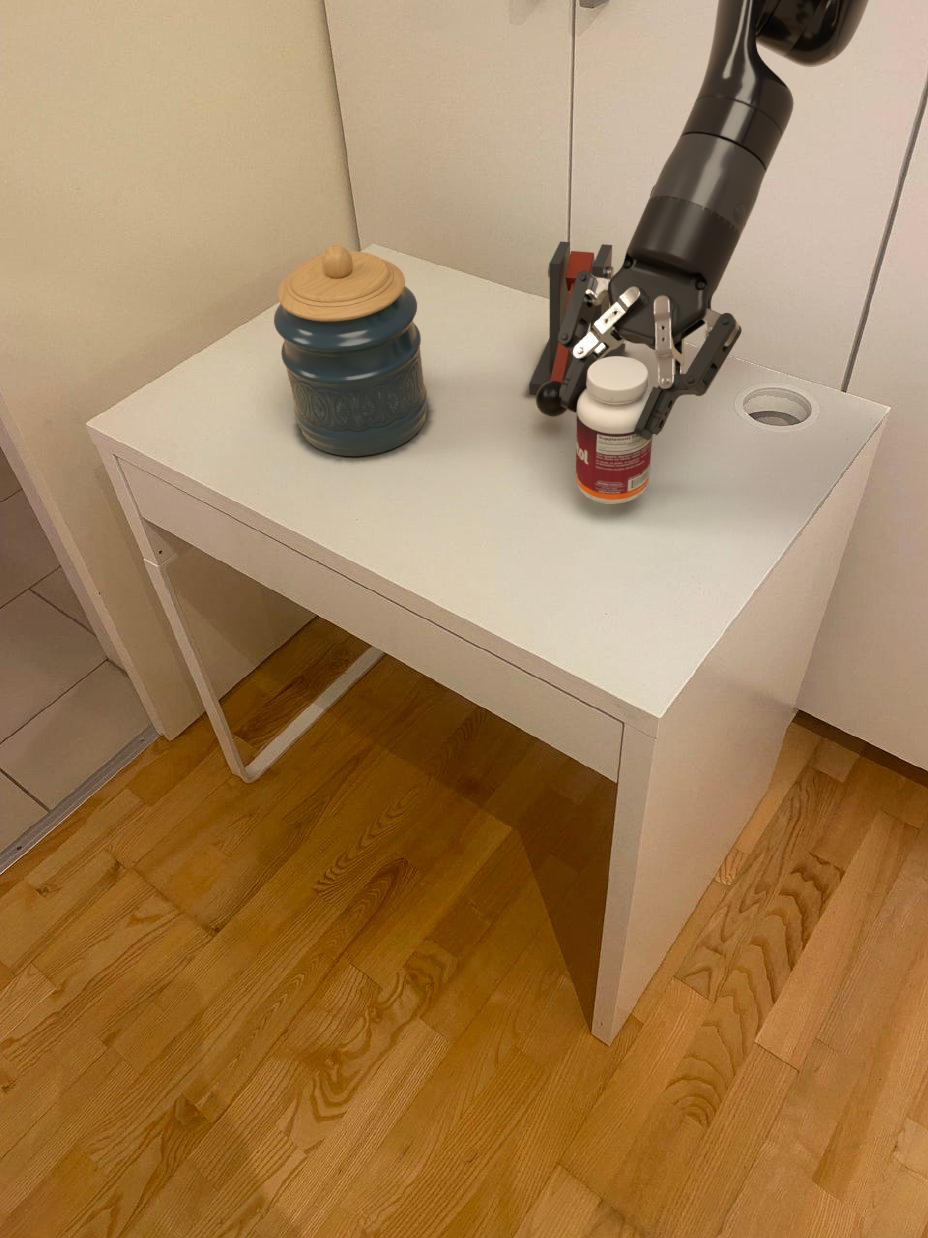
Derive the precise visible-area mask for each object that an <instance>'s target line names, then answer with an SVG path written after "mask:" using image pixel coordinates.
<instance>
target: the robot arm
mask: <svg viewBox="0 0 928 1238" xmlns="http://www.w3.org/2000/svg"><path fill="white" fill-rule="evenodd" d="M869 1H870V0H718V2H717V9H716V16H715V22H714V30H713V35H712V43H711V48H710V52H709V56H708V62H707V65H706V69H705V73H704V76H703V80H702V83H701V86H700V88H699V91H698V94H697V96H696V99H695V101H694V103H693V106H692V108H691V111H690V113H689V115H688V117H687V119H686V122H685V124H684V127H683V129H682V131H681V133H680V136H679V138H678V139H677V142H676V144H675V145H674V148H673V149H672V151H671V153H670V154H669V155H668V158H667V159H666V161H665V163H664V165H663V166H662V169H661V171H660V173H659V175H658V178H657V180H656V182H655V184H654V185H653V187H652V188H651V190H650V194H649V198H648V201H647V203H646V205H645V208H644V210H643V211H642V214H641V217H640V219H639V221H638V224H637V225H636V228H635V230H634V233H633V235H632V237H631V239H630V242H629V244H628V246H627V248H626V251H625V255H624V259H623V262H622V265H621V266H620V268H619V269H618V271H617V272H616V273H615V274H613V277H612V278H611V279H608V278H602V277H596V276H593V275H591V274H590V273H589V272H588V271H586V270H583V271H581V272H579V273H578V275H577V277H576V280H575V283H574V286H573V289H572V293H571V296H570V299H569V302H568V305H567V308H566V312H565V315H564V318H563V321H562V324H561V327H560V331H559V334H558V342H559V343H560V344H562V345H563V346H564V347H565V348H566V349H568V350H569V351H570V352H571V354H572V362H571V365H570V367H569V369H568V372H567V374H566V376H565V379H564V381H563V384H562V386H561V388H560V391H559V397H560V398H562V399H561V406H562V407H564V408H566V409H567V410H566V411H570V412H572V413H576V414H577V402H578V399H579V397H580V395H581V393H582V392H583V391H584V390H585V389H586V388H587V386H586V382H587V372H588V369H589V367H590V366H591V365H592V364H593V363H594V362H596V361H597V360H600V359H602V358H603V357H604V356H605V355H606V354H607V353H608V352H610V351H611V350H614V349H617V348H618V347H619V346H620V345H621V344H622V343H625V342H629V343H632V344H635V345H637V344H641V345H645V346H647V347H648V348H650V349H651V350H653V351H655V357H656V360H657V384H658V386H657V387H655V386H653V387H652V389H651V391H650V395H649V397H648V400H647V402H646V404H645V406H644V409H643V411H642V413H641V415H640V418H639V420H638V422H637V424H636V426H635V429H634V433H635V434H636V435H637V436H639V437H641V438H643V439H646V440H650V439H651V438H652V439H653V436H658V435H660V433H661V432H663V429H664V427H665V424H666V423H667V420H668V418H669V416H670V414H671V411H672V410H673V407H674V405H675V404H676V403H675V402H676V401H677V399H678V398H680V397H681V396H688V395H689V396H692V395H694V396H696V397H702V396H704V395H705V394H707V392H708V390H709V388H710V386H711V384H712V383H713V381H714V380H715V378H716V377H717V374H718V373H719V371H720V369H721V368H722V366H723V365H724V363H725V361H726V359H727V358H728V356H729V354H730V353H731V351H732V349H733V348H734V346H735V344H736V343H737V341H738V340H739V338H740V336H741V334H742V326H741V325H740V323H739V322H738V321H737V319H736V318H735V316H734V315H733V314H732V313H730V312H724V313H720V312H718V311H716V310H713V309H712V301H713V300H712V298H713V296H714V294H715V293H716V291H717V289H718V287H719V286H720V283H721V281H722V279H723V277H724V274H725V272H726V269H727V268H728V266H729V263H730V262H731V259H732V256H733V255H734V252H735V250H736V247H737V246H738V243H739V241H740V239H741V237H742V234H743V232H744V230H745V228H746V226H747V223H748V221H749V219H750V216H751V215H752V212H753V210H754V208H755V205H756V203H757V200H758V197H759V193H760V190H761V187H762V184H763V182H764V181H763V180H764V178H765V176H766V173H767V171H768V169H769V167H770V164H771V163H772V161H773V158H774V155H775V153H776V151H777V150H778V147H779V144H780V142H781V140H782V138H783V135H784V133H785V131H786V130H787V127H788V124H789V122H790V120H791V118H792V114H793V111H794V104H795V102H794V96H793V93H792V92H791V89H790V88H789V86H788V85H787V84H786V82H784V80H782V78H781V77H780V76H779V75H778V74H776V73H775V71H773V70H772V68H770V66H768V65H767V64H766V63H765V61H764V60H763V59H762V57H761V55H760V53H759V51H758V45H759V46H761V47H763V48H765V49H767V50H768V51H770V52H772V53H773V54H776V55H778V56H780V57H782V58H784V59H786V60H788V61H790V62H791V63H794V64H795V65H798V66H800V67H805V68H814V67H820V66H823V65H825V64H828V63H830V62H832V61H833V60H835V59H836V58H837V57H839V56H840V55H841V54H842V53H843V52H844V51H845V49H846V48H847V47H848V45H850V42H851V41H852V40H853V38H854V37H855V34H856V33H857V30H858V28H859V27H860V26H859V25H860V23H861V21H862V19H863V16H864V14H865V12H866V9H867V6H868V4H869ZM606 295H608V296H609V310H608V311H607V312H605V313H604V314H603V315H602V316H601V317H600V318H599V319H598V320H597V321H596V322H595V323H594V324H593V326H592V330H591V331H590V324H591V319H592V316H593V313H594V310H595V307H596V306H598V305H600V304H601V303H602V300H603V298H604V297H605V296H606ZM704 325H705V328H704V330H703V337H704V339H705V340H704V341H703V344H702V345H701V346H700V349H699V350H698V352H697V353H696V355H695V357H694V358H693V360H692V362H691V364H690V365H689V367H688V369H687V371H686V372H685V373H684V366H685V338H687V337H688V336H690V335H692V334H693V333H694V332H696V331H697V330H698V329H700V328H702V327H703V326H704ZM588 331H589V332H588Z"/></svg>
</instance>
